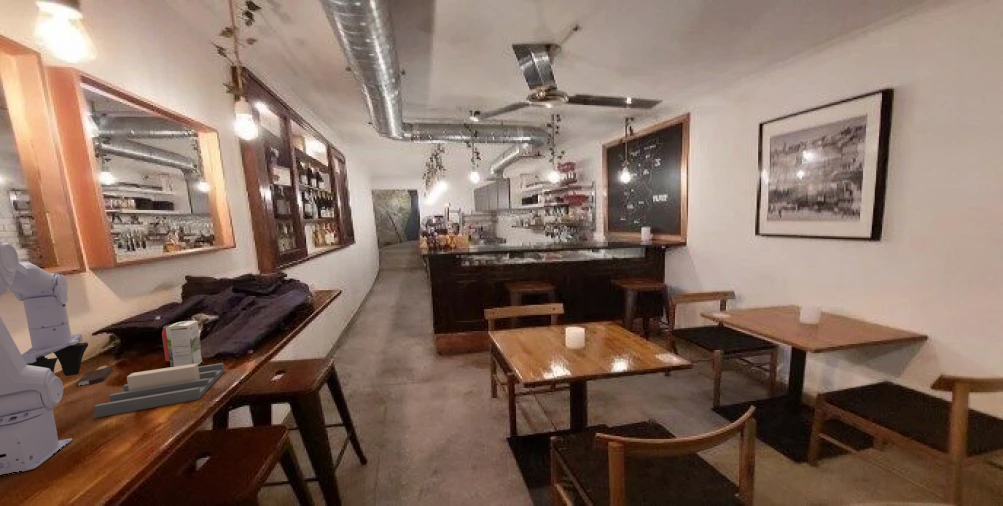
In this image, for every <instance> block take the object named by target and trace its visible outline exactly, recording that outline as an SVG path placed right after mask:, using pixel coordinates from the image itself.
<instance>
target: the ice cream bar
mask: <svg viewBox="0 0 1003 506" xmlns="http://www.w3.org/2000/svg"><path fill="white" fill-rule="evenodd" d="M112 371H113V368H112V366H109V367H108V366H107V365H102V366H99V367H98V368H97V369H95V370H93V369H92V370H89V371H86V372H85V373H84V374H83V375H82V376H81V377H80V379H78V380H77V381H76V384H75V385H76V387H77V386H79V387H81V386H80V385H82V386H85V385H86V384H87V385H88V386H92V385H95V383H96V384H99V382H100V383H102V382H104V381H106V380H107V378H108V377H107V376H109V375H110V374H111V373H112ZM110 372H111V373H110Z"/></svg>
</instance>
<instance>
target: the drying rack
mask: <svg viewBox="0 0 1003 506" xmlns="http://www.w3.org/2000/svg"><path fill="white" fill-rule="evenodd" d="M198 368H199V375H200V380H194V381H188V382H182V383H176V384H170V385H163V386H157V387H151V388H145V389H139V390H133V391H129V388H128V383H126V384H124V385H123V386H122V387H123V391H122V392H115V393H111V394H110V395H109V396H108V397H109V401H108V402H103V403H99V404H98V403H97V404H96V405H94V406H93V411H94V412H93V416H94V418H95V419H96V418H102V417H107V416H111V415H118V414H122V413H124V414H125V413H129V412H135V411H139V410H140V411H141V410H148V409H151V408H157V407H164V406H169V405H173V404H174V405H175V404H180V403H184V402H191V401H197V400H199V399H201V397H203V395H204V394H206V392H207V391H208V390H209V389H210V388H211V387H212V386H213V384H215V382H216V381H217V380H218V379H219V378H220V377H221V376H222V375H223V374H224V373H225V371H226V368H225V367H224V362H219V363H213V364H208V365H199V366H198Z"/></svg>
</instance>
